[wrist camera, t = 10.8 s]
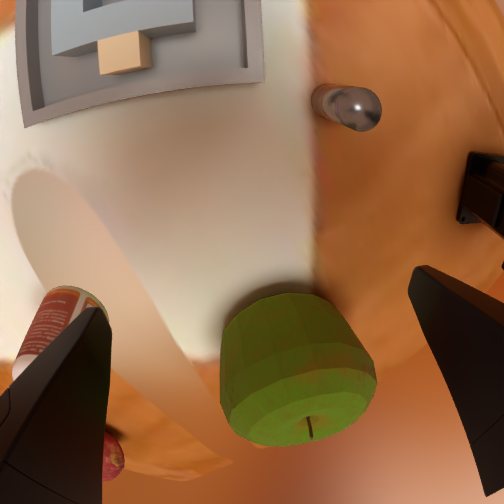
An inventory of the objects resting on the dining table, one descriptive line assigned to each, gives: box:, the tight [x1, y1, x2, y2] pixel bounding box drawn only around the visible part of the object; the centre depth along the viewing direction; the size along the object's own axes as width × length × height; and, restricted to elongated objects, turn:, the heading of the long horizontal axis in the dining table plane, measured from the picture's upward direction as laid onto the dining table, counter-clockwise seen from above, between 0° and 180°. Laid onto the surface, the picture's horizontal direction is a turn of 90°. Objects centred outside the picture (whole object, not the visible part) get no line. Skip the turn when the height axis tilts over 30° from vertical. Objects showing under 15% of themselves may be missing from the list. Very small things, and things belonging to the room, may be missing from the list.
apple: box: [220, 292, 377, 447], centre depth 21 cm, size 11×11×11 cm
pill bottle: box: [12, 286, 109, 381], centre depth 18 cm, size 6×6×11 cm
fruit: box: [102, 432, 125, 481], centre depth 31 cm, size 8×8×8 cm
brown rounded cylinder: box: [311, 84, 382, 132], centre depth 15 cm, size 2×2×4 cm
